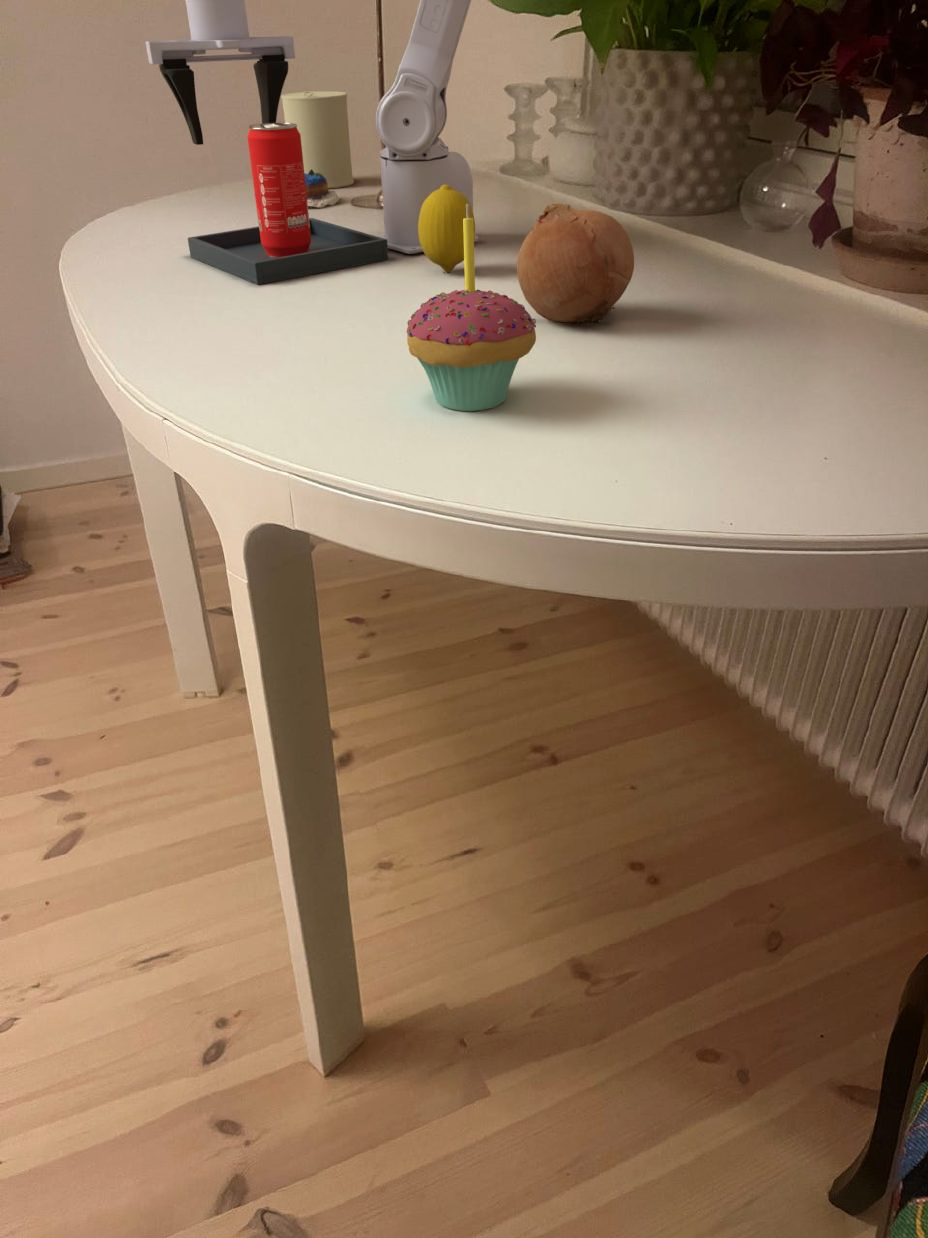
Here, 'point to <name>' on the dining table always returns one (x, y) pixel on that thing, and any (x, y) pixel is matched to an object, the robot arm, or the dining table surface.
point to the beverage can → (279, 188)
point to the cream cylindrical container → (322, 133)
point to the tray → (251, 262)
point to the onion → (574, 264)
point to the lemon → (444, 227)
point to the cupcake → (470, 340)
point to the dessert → (318, 190)
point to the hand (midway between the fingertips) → (234, 140)
